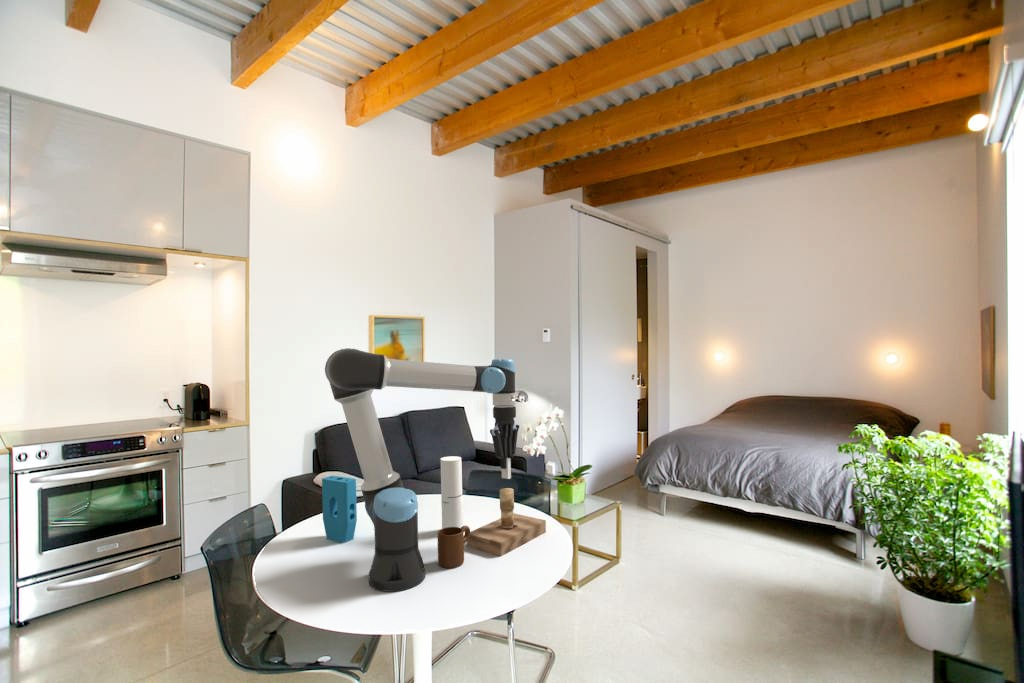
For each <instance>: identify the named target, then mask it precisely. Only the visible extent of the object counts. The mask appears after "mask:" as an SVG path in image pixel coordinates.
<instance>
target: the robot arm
mask: <svg viewBox="0 0 1024 683" xmlns="http://www.w3.org/2000/svg"><path fill="white" fill-rule="evenodd" d="M515 368H516V367H515V361H514V360H513V359H512V358H499V359H498V358H495V359H492V360H491V363H490V365H467V364H456V363H443V362H429V361H418V360H408V359H407V360H405V359H397V358H396V359H395V358H388V357H387V356H386V355H385V354H378V353H374V352H373V353H372V352H367V351H364V350H361V349H360V350H359V349H356V348H342V349H341V348H340V349H339V350H336V351H334V352H333V353H332V354H331V355H330V356H329V357H328V358H327V361H326V362H325V366H324V373H325V378H326V380H328V383H329V386H330V389H331V393H332V396H333V398H334V401H335V402H338V403H340V404H341V406H342V411H343V412H344V417H345V420H346V424H347V426H348V430H349V433H350V434H349V435H350V436H351V441H352V444H353V447H354V451H355V454H356V457H357V461H358V464H359V466H360V467H359V468H360V471H361V474H362V477H363V483H362V484H361V486H360V490H361V493H362V497H363V500H364V507H365V508H364V509H365V511H366V513H367V516H368V517H369V518H370V520H371V523H372V524H373V527H374V528H373V529H374V555H373V559H372V563H371V567H370V570H369V572H368V584H369V586H370V587H371V588H372V589H375V590H377V591H381V592H397V591H403V590H407V589H412V588H413V587H416V586H418V585H419V584H421V583H422V582H423V581H424V580H425V578H426V565H425V564H424V561H423V556H422V555H421V552H420V549H419V523H418V522H419V520H418V519H419V518H418V515H419V514H418V512H419V511H418V510H419V502H418V497H417V494H416V493H415V491H413V490H412V489H410V488H405V487H404V485H403V482H402V478H401V475H400V473H398V472H396V471H395V470H393V467H392V463H391V462H392V461H391V460H390V457H389V453H388V452H389V451H388V450H387V449H388V448H387V446H386V443H385V438H384V436H383V433H382V432H383V431H382V429H381V425H380V422H379V419H378V418H379V417H378V415H377V412H376V408H375V405H374V404H375V403H374V401H373V397H372V394H373V392H374V390H379V391H380V390H382V389H384V388H385V387H391V388H392V387H394V388H395V387H396V388H407V389H409V388H410V389H426V390H427V389H429V390H445V391H463V392H472V393H473V392H474V393H475V392H476V393H487V394H492V405H493V408H492V417H493V419H495V422H494V427H493V428H491V429H490V430H489V433H490V435H491V437H492V443H493V450H494V454H495V458H497V459H500V469H501V479H507V480H510V479H512V471H511V470H512V468H511V467H512V459H513V458H515V455H516V451H517V442H518V441H517V440H518V434H519V433H518V432H519V429H520V425H519V424H516V423H515V422H516V421H515V418H516V417H517V407H516V404H517V402H516V369H515Z"/></svg>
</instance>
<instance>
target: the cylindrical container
mask: <svg viewBox="0 0 1024 683" xmlns="http://www.w3.org/2000/svg"><path fill="white" fill-rule="evenodd" d="M462 463H463V462H462V457H461V456H456V455H454V456H453V455H452V456H451V455H450V456H443V457H440V486H441V487H440V488H441V489H440V493H441V496H440V497H441V499H440V500H441V529H443V528H447V527H458V528H461V527H462V526H464V515H463V514H464V512H463V510H464V508H463V507H464V505H463V473H462V472H463V471H462V470H463V469H462Z"/></svg>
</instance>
